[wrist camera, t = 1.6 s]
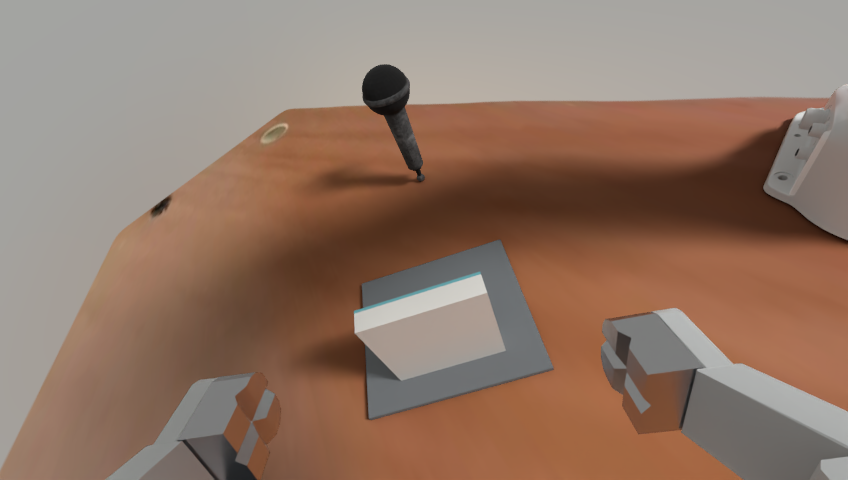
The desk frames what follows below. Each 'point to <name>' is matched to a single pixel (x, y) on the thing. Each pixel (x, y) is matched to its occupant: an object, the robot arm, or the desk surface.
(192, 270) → the desk surface
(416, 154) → the microphone
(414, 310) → the tile
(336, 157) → the desk surface
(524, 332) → the mat
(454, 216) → the desk surface
